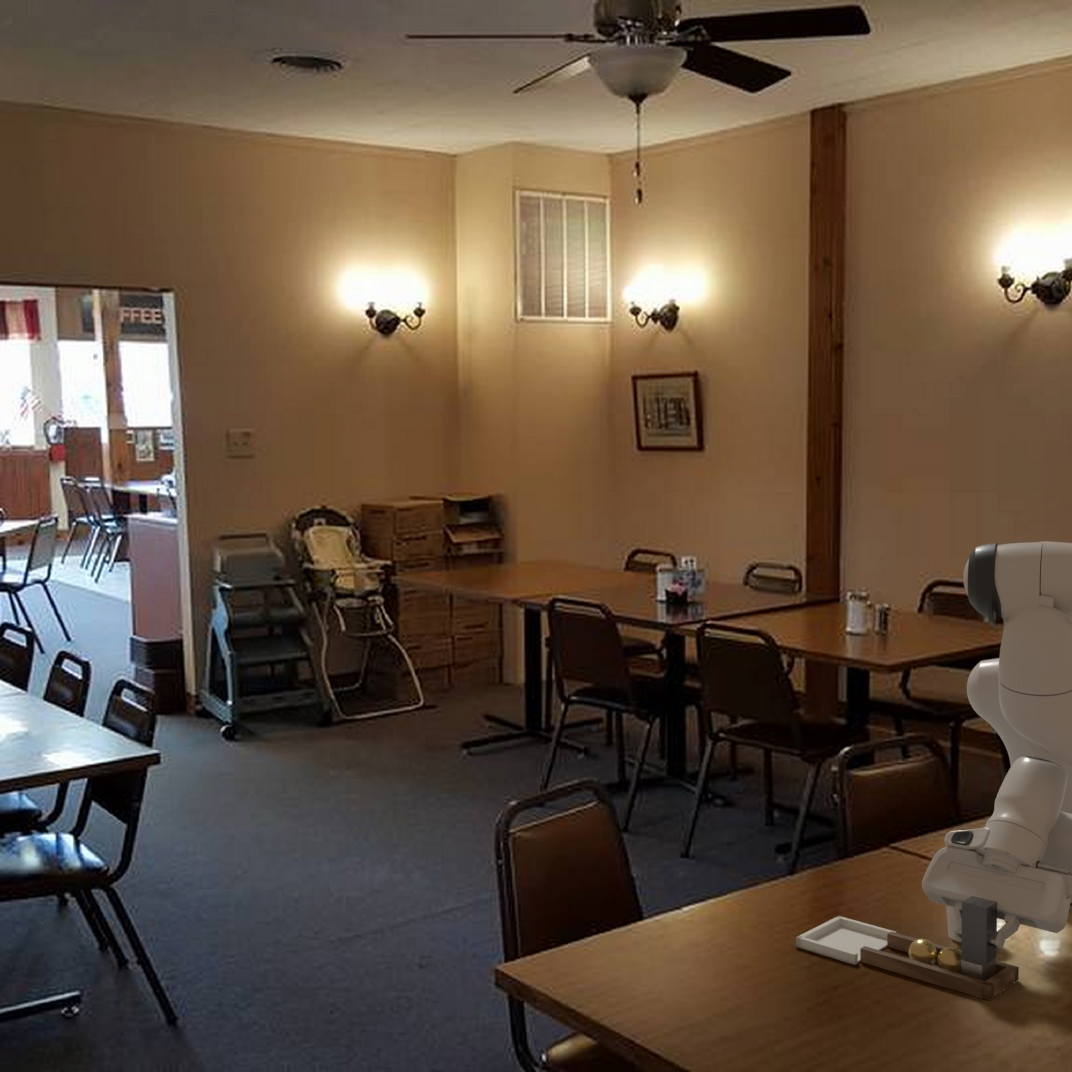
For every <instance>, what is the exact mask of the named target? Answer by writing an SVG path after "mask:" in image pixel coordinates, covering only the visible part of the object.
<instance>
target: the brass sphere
mask: <svg viewBox="0 0 1072 1072" xmlns="http://www.w3.org/2000/svg"><path fill="white" fill-rule="evenodd" d="M945 947H946V948H944V949H942V950H941V951H940V953H939V955H938V958H937V961H936V962H937V965H938V966H937V967H938V968H942V969H945V970H948V971H952V972H955V973H959V974H961V960H962V959H963V958H961V949H959V948H957V947H955V946H945Z"/></svg>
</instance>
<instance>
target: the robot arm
mask: <svg viewBox="0 0 1072 1072" xmlns="http://www.w3.org/2000/svg"><path fill="white" fill-rule="evenodd" d="M962 579H963V580H962V581H963V586H964V590H965V593H966V596H967V597H968V601H969V604H970V605H971V606H972V607H973V608H974V610H975V611H976V612H978V614H980V615H982V616H984V617H985V618H988V623H989V624H990V625H991V626H993V627H995V625H996V619H997V615H998V617H1000V618H1001V619H1003V620H1002V621H1003V631H1002V636H1001V643H1000V649H999V657H996V658H991V659H983V660H980V661H979V662H978V663H977V664H976V665H975V666H974V667H973V668H972V669H971V672H970V674H969V676H968V677H967V682H966V693H967V694H966V695H967V699H968V701H969V704H970V705H971V707H972V709H973V711H975V713H976V714H977V715H978V716H979V717H980V718H982V719H983V720H984V721H985V722H987V723H988V724H989V725H990V726H991V727H992V728H993V730H995V732H996V734H997V735H998V736H999V737H1000V739H1001V740H1002V742H1003V745H1004V747H1005V749H1006V751H1007V754H1008V757H1009V758H1008V759H1009V763H1010V768H1009V769H1008V772H1006V775H1005V777H1004V779H1003V781H1002V783H1001V785H1000V787H999V790H998V792H997V794H996V798H995V800H994V810H993V813H992V815H991V817H989V818H988V819H987V822H986V824H985V825H984V827H979V828H971V829H964V830H963V829H962V830H951V831H948V832H947V833H946V834H945V836H944V840H943V842H944V844H945V847H941V848H940V849H939V850H938V851H937V852H936V853H935V854H934V856H933V857H932V859H931V861H930V863H929V865H928V867H927V868H926V871H925V873H924V875H923V878H922V881H921V888H922V890H923V892H924V894H925V896H926V897H927V898H928V900H929V901H930V902H932V903H935V904H939V905H944V906H946V905H947V906H951V907H954V909H955V914H956V919H957V924H956V927H955V930H954V934H955V935H956V937H958V938H962V902H963V901H965V900H966V899H968V898H970V897H972V896H975V897H979V898H983V899H987V900H991V901H995V902H997V920H998V919H999V920H1002V921H1004V922H1005V923H1004V925H1002V927H1000V928H999V929H998V930H997V931H993V930H992V931H991V934H990V935H991V936H990V937H989V940H988V942H989V944H990V946H992V947H995V948H997V950H998V949H999V950H1002V949H1003V947H1004V945H1005V941H1006V940H1007V939H1009V938H1010V937H1012V936H1013V935H1014V934H1015V933H1017V932H1018V931H1019V928H1020V925H1021V926H1027V927H1029V928H1034V929H1039V930H1042V931H1046V932H1049V933H1054V934H1058V933H1059V932H1061V931H1063V930H1064V929H1065V928H1066V924H1067V921H1068V918H1069V913H1070V912H1069V911H1070V906H1071V904H1072V542H1061V541H1060V542H1059V541H1050V540H1047V541H1045V540H1044V541H1036V542H1034V541H1033V542H1032V541H1030V542H1013V543H1003V544H999V543H998V542H992V543H986V544H982V545H978V546H976V547H974V548H973V550H971V552H970V553H969V558H968V559H967V561H966V564H965V566H964V569H963V577H962Z"/></svg>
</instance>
